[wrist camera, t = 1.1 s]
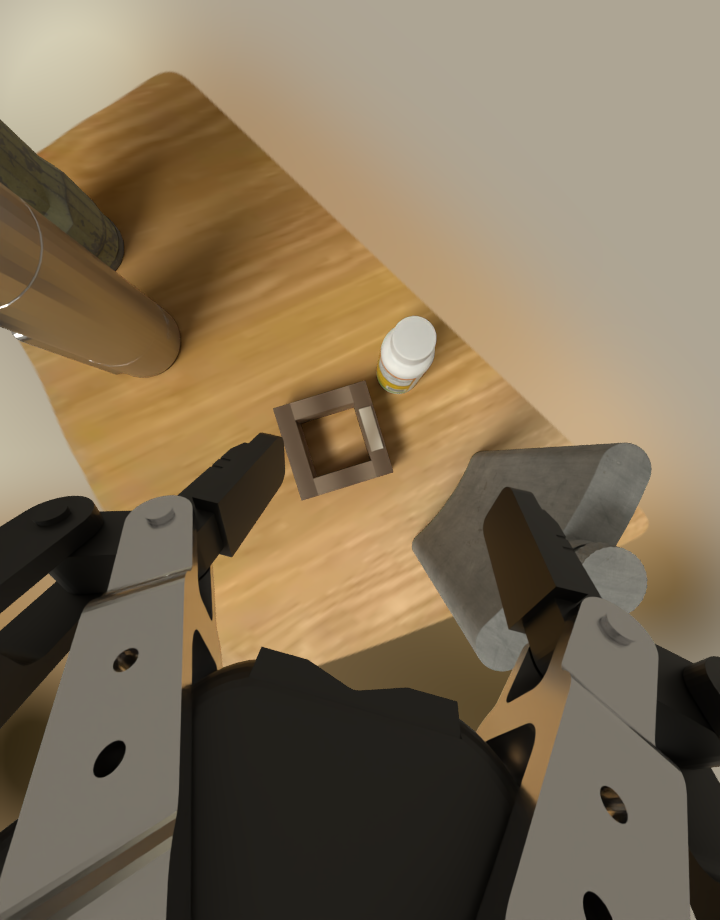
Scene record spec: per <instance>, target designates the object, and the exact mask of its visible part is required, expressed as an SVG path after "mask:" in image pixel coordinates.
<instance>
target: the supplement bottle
mask: <svg viewBox="0 0 720 920" xmlns="http://www.w3.org/2000/svg"><path fill="white" fill-rule="evenodd" d="M435 345H436V332H435V329H434V327H433V325H432V324H431V323H430V322H429V321H428V320H426V319H425V318H422V317H419V316H410V317H406V318H404V319H402V320H401V321H400V322H399V323H398V324H397V325H396V327H395V328H393V329H392V330H391V331H390V332H389V333H388V334H387V335H386V337H385V338H384V340H383V343H382V346H381V351H380V355H379V360H378V364H377V371H376V373H377V379H378V381H379V383H380V385H381V386H382V387H383V388H384V389H385V390H386V391H388V392H390V393H393V394H402V393H405V392H408V391H409V390H411V389H412V388H413V387H414V386H415V385H416V384H417V382H418V381H419V380H420V378H421V377H422V376H423V375H424V373H425V372H426V371H427V370H428V368H429V367H430V365H431V363H432V361H433V359H434V354H435Z"/></svg>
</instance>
